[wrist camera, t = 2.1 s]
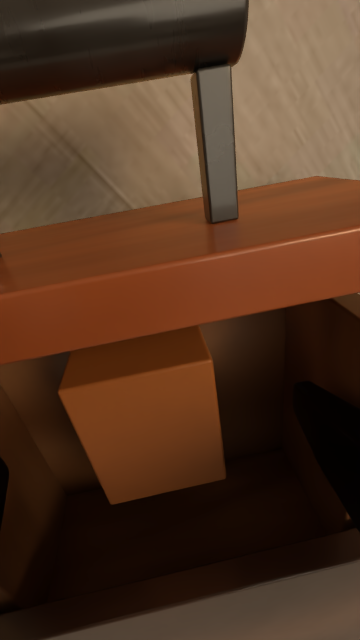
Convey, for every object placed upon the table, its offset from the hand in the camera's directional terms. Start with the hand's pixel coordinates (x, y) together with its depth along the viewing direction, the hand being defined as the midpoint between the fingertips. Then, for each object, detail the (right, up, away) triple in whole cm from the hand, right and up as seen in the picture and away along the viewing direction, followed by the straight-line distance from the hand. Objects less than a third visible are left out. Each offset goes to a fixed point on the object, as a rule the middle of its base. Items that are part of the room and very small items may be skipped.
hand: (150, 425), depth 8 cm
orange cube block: (0, +1, +3) cm, 3 cm away
